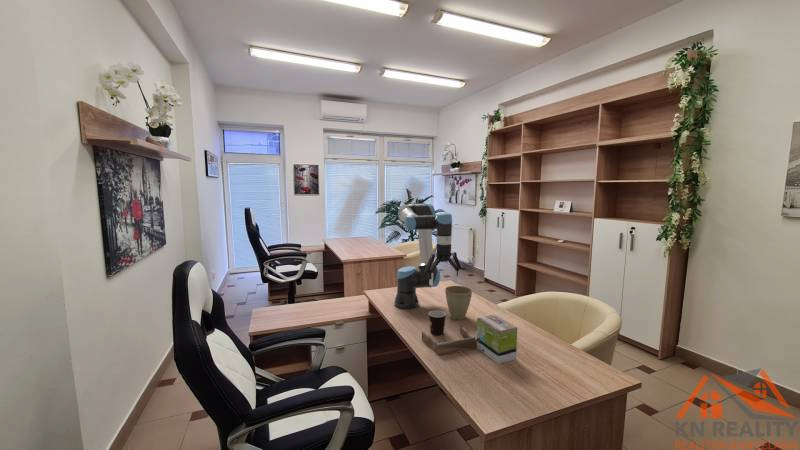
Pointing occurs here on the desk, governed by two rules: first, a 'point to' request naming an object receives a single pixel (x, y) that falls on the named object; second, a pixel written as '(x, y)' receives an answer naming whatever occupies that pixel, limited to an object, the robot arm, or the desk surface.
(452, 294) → the plant pot
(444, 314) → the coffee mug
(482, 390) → the desk surface
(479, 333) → the tea box
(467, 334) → the organizer
